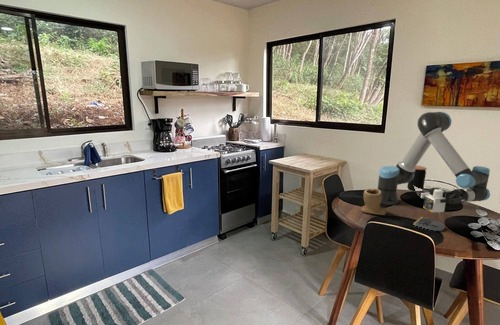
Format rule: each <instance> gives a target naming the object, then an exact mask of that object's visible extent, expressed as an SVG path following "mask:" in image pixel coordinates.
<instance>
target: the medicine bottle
mask: <svg viewBox="0 0 500 325" xmlns="http://www.w3.org/2000/svg"><path fill="white" fill-rule="evenodd" d="M429 191H430V192H429V196H425V198H423V200H424V201H423V205H422V207H423V209H425V210H427V211H429V212H431V213H444V212H445V210H446V209H445V208H446V204H447V203H437V204H434V203H433V202H434V198H443V197H442V196H443V189H441V188H439V187H431V188H429Z"/></svg>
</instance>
